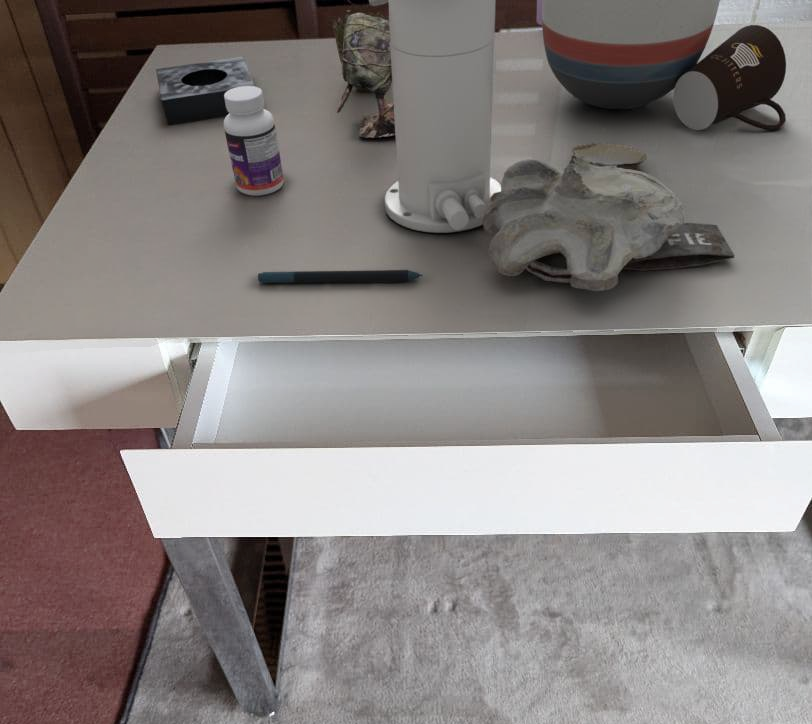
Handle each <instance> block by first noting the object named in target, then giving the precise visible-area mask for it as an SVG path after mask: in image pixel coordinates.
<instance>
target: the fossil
mask: <svg viewBox="0 0 812 724" xmlns="http://www.w3.org/2000/svg"><path fill="white" fill-rule="evenodd" d="M500 185H501V191H500V192H497V193H494V194H493V195H492V196H491V197H490V199H489V200H488V203H487V206H486V209H485V212H484V217H483V225H482V226H483V230H484V231H485V233H486V234H487V236H490V237H491V241H490V243H489V245H488V246H487V247H488V251H487V252H488V255H489V256H488V257H489V259H490V260H492V261H494V264H495V267H496V272H497V273H499V274H500V275H503V276H508V277H513V276H514V277H515V276H518V275H520V274H522V273H523V272H524V270H525V269H526V267H527V266H528V265H529V264H530V263H531V262H533V261H534V260H535V261H536V260H538V259H540V258H542V257H546V256H550V255H553V254H561V255H562V256H563V257H564V258H565V261H566V262H565V263H566V268H567V270H568V272H569V273H570V274H571V275H572V276H571V280H570V283H569V284H570V286H571V288H575V289H583V290H588V291H592V292H604V291H609V290H611V289H614V287H616V286H617V285H618V283H619V274H620V272H621V271H622V270H623V269H622V268H623V267H624V266H625V265H626V264H627V263H628V261H630V260H631V259H632V258H635V259H638V258H644V257H647V256H651V255H653V254H654V253H655V252H657V251H658V250H659V249H660V248H661V246H662V244H663V243H664V242H665V241H666V240H667V239H668V238H669V237H670V236H672V235H673V234H674V233H675V232H677V231H678V230H679V229H680V228H681V227H682V226H683V225H684V223H686V221H685V215H684V205H683V204H682V201H681V200H680V199H679V198H678V196H677V194H676V193H674V191H672V190H671V189H670V188H669V187H667V186H666V185H664V183H663V182H661V180H659V179H657V178H656V177H654V176H653V175H651V174H649V173H645V172H644V171H640V170H635V169H632V168H629V169H623V168H617V167H616V166H603V167H599V166H594V165H591V164H590V162H589V160H588V158H587V157H585V156H581V157H580V156H577V155H574V154H572V155H571V159H570V161H569V162H568V164H567V166H566V167H565V168H554V167H552V166H551V165H549V164H548V163H547V162H545V161H543V160H540V159H536V158H534V159H530V158H529V159H524V160H520V161H517V162H515V163H514V164H512V165H511V166H509V167H508V168H507V169H506V170H505V172H504V173H503V177H502V180H501V183H500Z"/></svg>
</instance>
